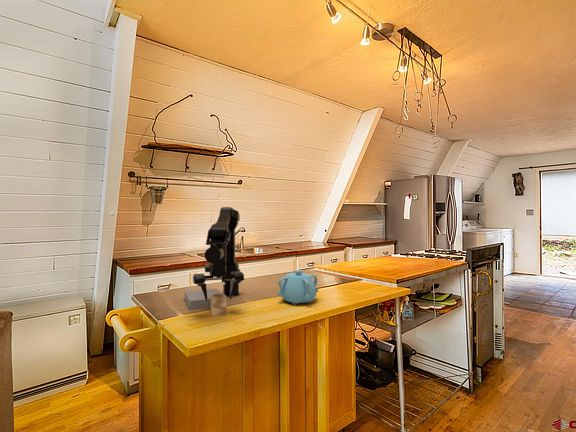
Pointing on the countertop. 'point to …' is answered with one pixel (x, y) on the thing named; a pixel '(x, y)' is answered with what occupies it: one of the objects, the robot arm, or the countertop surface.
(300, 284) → the decorative pot
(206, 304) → the grey riser
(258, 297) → the countertop surface
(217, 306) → the beech block
